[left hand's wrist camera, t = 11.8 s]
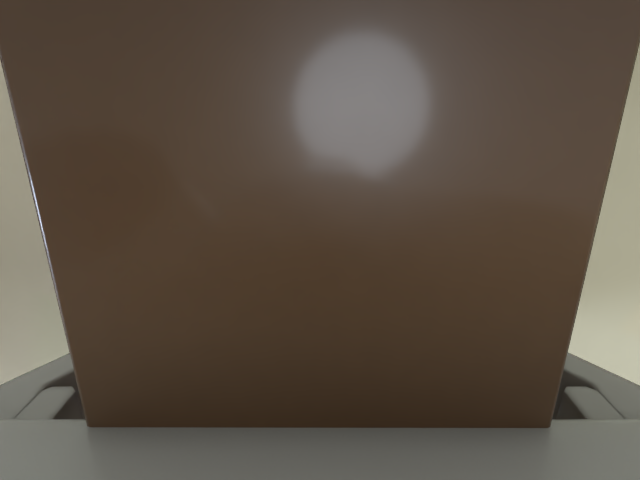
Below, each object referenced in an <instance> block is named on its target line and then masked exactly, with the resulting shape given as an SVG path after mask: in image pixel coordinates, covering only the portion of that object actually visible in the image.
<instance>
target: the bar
mask: <svg viewBox="0 0 640 480" xmlns="http://www.w3.org/2000/svg"><path fill="white" fill-rule="evenodd" d="M639 43H640V0H0V59H1V63H2V67H3V72H4V76H5V80H6V84H7V89H8V93H9V97H10V101H11V106H12V110H13V114H14V118H15V123H16V127H17V131H18V135H19V140H20V144H21V148H22V152H23V157H24V161H25V165H26V169H27V174H28V178H29V182H30V186H31V190H32V195H33V199H34V203H35V207H36V212H37V216H38V220H39V224H40V229H41V233H42V237H43V241H44V246H45V250H46V254H47V258H48V263H49V267H50V271H51V275H52V280H53V284H54V288H55V292H56V297H57V301H58V305H59V309H60V314H61V318H62V322H63V326H64V330H65V335H66V339H67V343H68V347H69V352H70V356H71V360H72V364H73V369H74V373H75V377H76V381H77V386H78V390H79V394H80V398H81V403H82V407H83V411H84V415H85V420H86V424H87V426H88V427H194V428H549V427H550V426H551V421H552V417H553V413H554V409H555V404H556V400H557V396H558V391H559V387H560V383H561V378H562V374H563V370H564V366H565V361H566V357H567V353H568V348H569V344H570V340H571V335H572V331H573V327H574V323H575V318H576V314H577V310H578V305H579V301H580V297H581V292H582V288H583V284H584V280H585V275H586V271H587V267H588V262H589V258H590V254H591V249H592V245H593V241H594V236H595V232H596V228H597V224H598V219H599V215H600V211H601V206H602V202H603V198H604V193H605V189H606V185H607V181H608V176H609V172H610V168H611V163H612V159H613V155H614V150H615V146H616V142H617V138H618V133H619V129H620V125H621V120H622V116H623V112H624V107H625V103H626V99H627V95H628V90H629V86H630V82H631V77H632V73H633V69H634V64H635V60H636V56H637V52H638V47H639Z"/></svg>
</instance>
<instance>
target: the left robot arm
mask: <svg viewBox="0 0 640 480" xmlns="http://www.w3.org/2000/svg"><path fill="white" fill-rule="evenodd" d="M0 480H640V386H639V385H637V384H635V383H633V382H631V381H629V380H626V379H624V378H622V377H620V376H618V375H616V374H613V373H611V372H609V371H607V370H605V369H603V368H601V367H598V366H596V365H594V364H592V363H590V362H588V361H585V360H583V359H581V358H579V357H577V356H575V355H572V354H570V353H567V357H566V361H565V366H564V370H563V374H562V378H561V383H560V387H559V391H558V396H557V400H556V404H555V409H554V413H553V417H552V421H551V426H550V427H549V428H194V427H88V426H87V424H86V420H85V415H84V411H83V407H82V403H81V398H80V394H79V390H78V386H77V381H76V377H75V373H74V369H73V364H72V360H71V356H70V353H69V354H67V355H64V356H62V357H60V358H58V359H56V360H54V361H51V362H49V363H47V364H45V365H43V366H41V367H38V368H36V369H34V370H32V371H30V372H28V373H25V374H23V375H21V376H19V377H17V378H15V379H12V380H10V381H8V382H6V383H4V384H2V385H0Z"/></svg>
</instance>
